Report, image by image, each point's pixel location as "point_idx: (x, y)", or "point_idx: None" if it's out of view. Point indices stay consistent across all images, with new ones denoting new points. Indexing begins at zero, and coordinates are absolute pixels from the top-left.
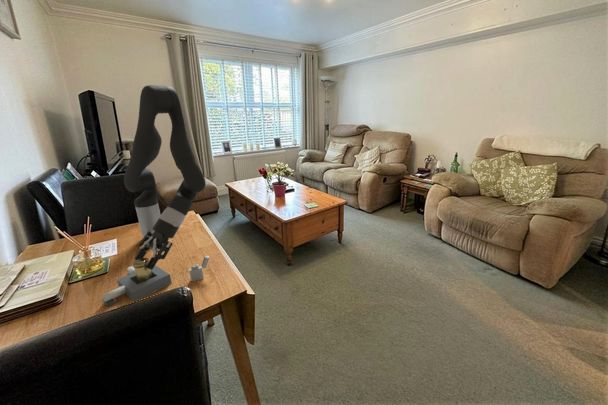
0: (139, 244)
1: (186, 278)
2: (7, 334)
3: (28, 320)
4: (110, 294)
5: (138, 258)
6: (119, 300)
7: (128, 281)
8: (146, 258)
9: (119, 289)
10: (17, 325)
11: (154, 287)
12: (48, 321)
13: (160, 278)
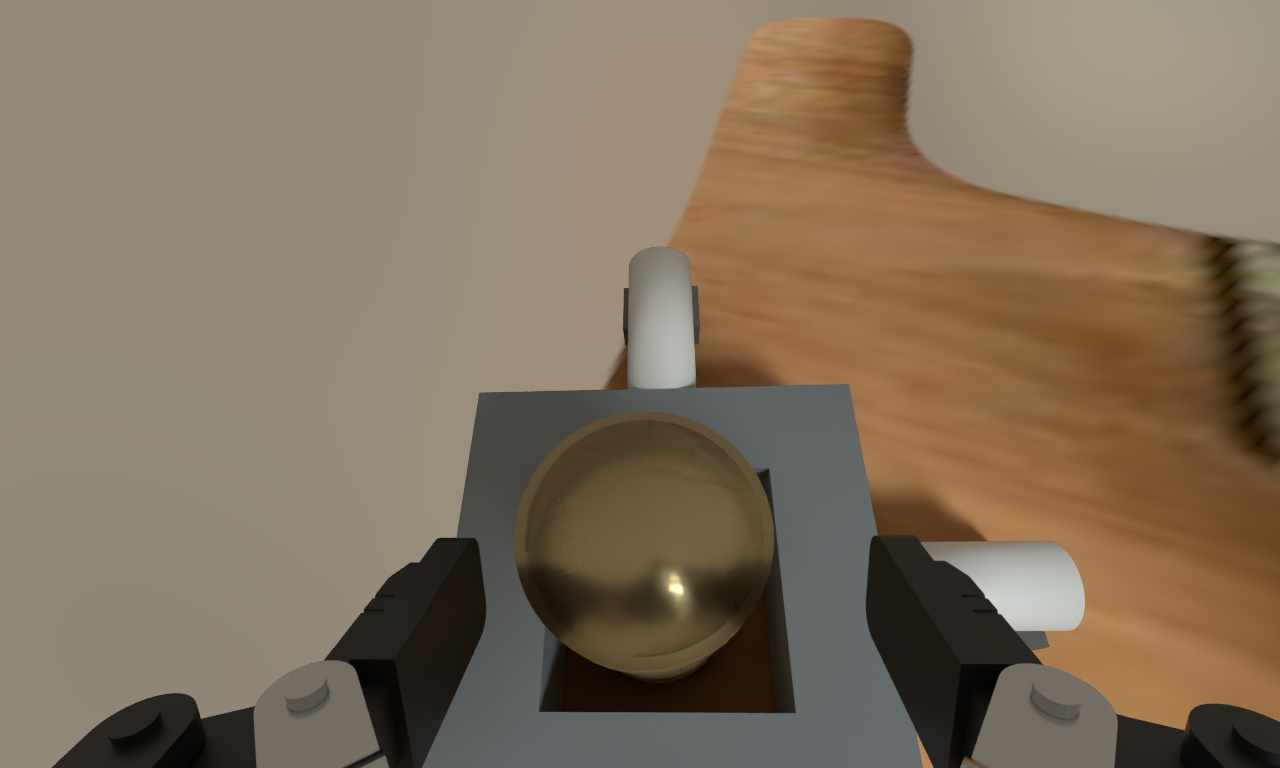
0: (1265, 734)
1: None
2: (807, 20)
3: (865, 66)
4: (636, 289)
5: (884, 589)
6: None
7: None
8: (670, 648)
9: (639, 346)
10: (856, 41)
11: None
12: (770, 110)
13: None
